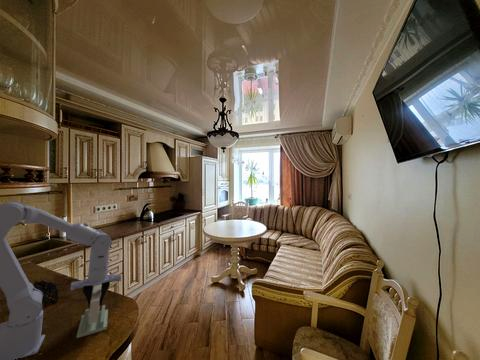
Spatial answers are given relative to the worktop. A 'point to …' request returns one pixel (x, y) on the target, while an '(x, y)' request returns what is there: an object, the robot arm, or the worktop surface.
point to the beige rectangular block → (95, 304)
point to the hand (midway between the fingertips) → (95, 305)
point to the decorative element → (47, 289)
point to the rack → (93, 327)
